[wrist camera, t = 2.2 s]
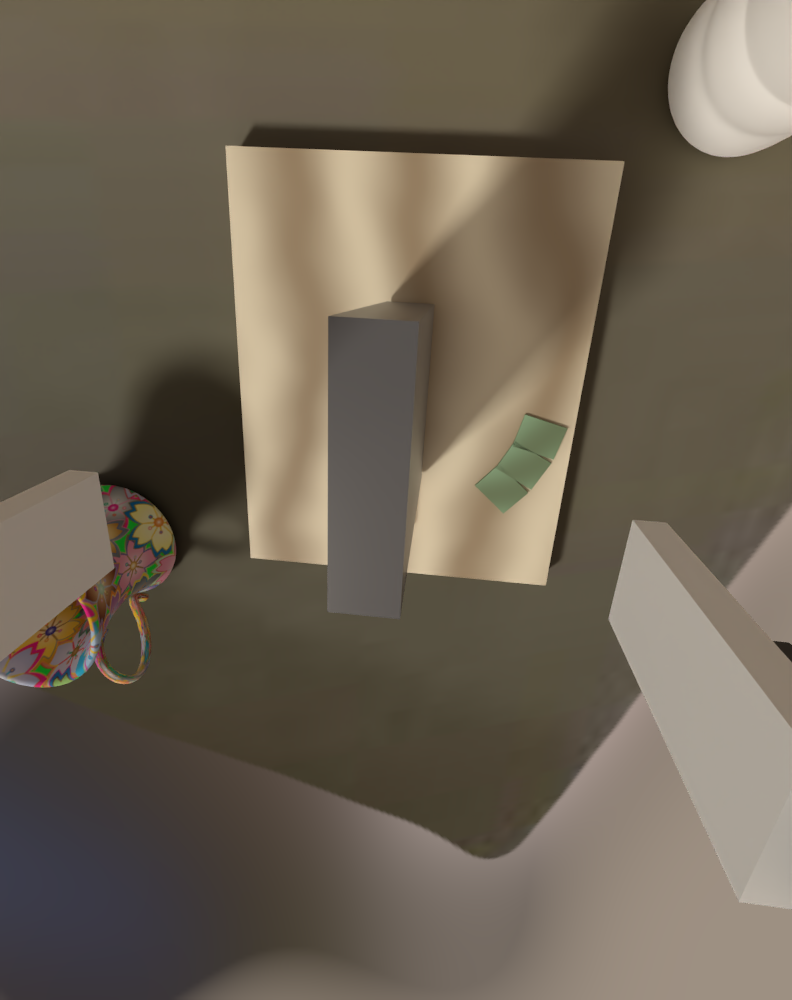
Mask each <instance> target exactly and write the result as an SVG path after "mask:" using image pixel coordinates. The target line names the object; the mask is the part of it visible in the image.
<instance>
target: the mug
mask: <svg viewBox="0 0 792 1000" xmlns="http://www.w3.org/2000/svg"><path fill="white" fill-rule="evenodd" d="M100 487H101V493H102V499H103V505H104V510H105V516H106V522H107V528H108V534H109V539H110V545H111V551H112V557H113V563H114V569H113V570H112V571H110V572H109V573H108V574H107V575H105V576H104V577H103V578H102V579H101V580H99V581H98V582H97V583H96V584H95V585H93V586H92V587H91V588H90V589H88V590H87V591H86V592H85V593H84V594H82V595H81V596H80V597H79V598H77V599H76V600H75V601H74V602H73V603H71V604H70V605H69V606H68V607H66V608H65V609H64V610H63V611H62V612H60V613H59V614H58V615H57V616H56V617H54V618H53V619H52V620H51V621H49V622H48V623H47V624H46V625H45V626H43V627H42V628H41V629H40V630H38V631H37V632H36V633H35V634H34V635H32V636H31V637H30V638H29V639H27V640H26V641H25V642H24V643H23V644H21V645H20V646H19V647H18V648H17V649H15V650H14V651H13V652H12V653H10V654H9V655H8V656H7V657H6V658H4V659H3V660H2V661H1V662H0V678H2V679H4V680H7V681H10V682H13V683H17V684H20V685H25V686H32V687H54V686H59V685H63V684H66V683H69V682H71V681H73V680H75V679H77V678H79V677H80V676H82V675H83V674H84V673H85V672H86V671H87V670H88V669H89V668H90V667H91V665H92V664H93V662H94V661H95V662H96V664H97V667H98V668H99V670H100V671H101V673H102V674H103V675H104V676H105V677H107V678H108V679H109V680H111V681H113V682H116V683H119V684H129V683H132V682H134V681H136V680H138V679H139V678H140V677H141V676H142V675H143V674H144V673H145V671H146V670H147V668H148V665H149V662H150V657H151V636H150V630H149V625H148V622H147V619H146V616H145V613H144V611H143V609H142V607H141V605H140V602H144V601H146V600H147V599H148V594H145V593H139V592H144V591H147V590H150V589H152V588H154V587H156V586H158V585H159V584H161V583H162V582H163V581H164V580H165V579H166V578H167V577H168V575H169V574H170V572H171V570H172V568H173V566H174V563H175V559H176V543H175V538H174V535H173V532H172V530H171V527H170V525H169V524H168V522H167V520H166V519H165V517H164V516H163V514H162V513H161V512H160V511H159V510H158V509H157V508H156V507H155V506H154V505H153V504H152V503H151V502H150V501H148V500H147V499H146V498H144V497H143V496H141V495H139V494H137V493H136V492H133V491H131V490H129V489H126V488H123V487H119V486H114V485H100ZM136 593H138V594H136ZM134 594H135V595H134ZM132 595H133V596H132ZM129 597H130V599H129V605H130V607H131V610H132V612H133V614H134V616H135V619H136V621H137V624H138V628H139V631H140V636H141V645H142V654H141V661H140V665H139V668H138V670H137V672H136V673H135V674H134V675H124V674H121V673H119V672H118V671H116V670H115V669H114V668H113V667H112V666H111V665H110V664H109V662H108V660H107V658H106V656H105V653H104V639H105V636H106V634H107V632H108V629H106V626H107V624H108V622H109V621H110V619H111V617H112V616H113V614H114V613H115V611H116V610H117V609H118V608H119V606H120V605H121V604H122V603H123V602H124V601H126V600H127V599H128V598H129ZM139 601H140V602H139Z"/></svg>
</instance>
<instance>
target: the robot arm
mask: <svg viewBox="0 0 792 1000" xmlns="http://www.w3.org/2000/svg"><path fill="white" fill-rule="evenodd" d="M113 569H114V563H113V557H112V551H111V545H110V539H109V534H108V528H107V522H106V516H105V510H104V505H103V499H102V493H101V487H100V482H99V476H98V473H97V472H86V471H75V470H68V471H66V472H64V473H62V474H60V475H58V476H56V477H53V478H51V479H49V480H47V481H45V482H43V483H41V484H39V485H36V486H34V487H32V488H30V489H28V490H26V491H24V492H22V493H19V494H17V495H15V496H13V497H11V498H9V499H7V500H5V501H2V502H0V662H1V661H2V660H3V659H4V658H6V657H7V656H8V655H9V654H10V653H12V652H13V651H14V650H15V649H17V648H18V647H19V646H20V645H21V644H23V643H24V642H25V641H26V640H27V639H29V638H30V637H31V636H32V635H34V634H35V633H36V632H37V631H38V630H40V629H41V628H42V627H43V626H45V625H46V624H47V623H48V622H49V621H51V620H52V619H53V618H54V617H56V616H57V615H58V614H59V613H60V612H62V611H63V610H64V609H65V608H66V607H68V606H69V605H70V604H71V603H73V602H74V601H75V600H76V599H77V598H79V597H80V596H81V595H82V594H84V593H85V592H86V591H87V590H88V589H90V588H91V587H92V586H93V585H95V584H96V583H97V582H98V581H99V580H101V579H102V578H103V577H104V576H105V575H107V574H108V573H109V572H110V571H112V570H113ZM609 621H610V623H611V626H612V628H613V630H614V632H615V634H616V636H617V639H618V641H619V643H620V645H621V647H622V650H623V652H624V654H625V656H626V658H627V660H628V663H629V665H630V667H631V669H632V671H633V673H634V676H635V678H636V680H637V682H638V684H639V686H640V689H641V691H642V693H643V695H644V697H645V700H646V702H647V704H648V706H649V708H650V710H651V712H652V715H653V717H654V719H655V721H656V723H657V726H658V728H659V730H660V732H661V734H662V736H663V738H664V741H665V743H666V745H667V747H668V749H669V752H670V754H671V756H672V758H673V760H674V762H675V765H676V767H677V769H678V771H679V773H680V776H681V778H682V780H683V782H684V784H685V786H686V789H687V791H688V793H689V795H690V797H691V799H692V802H693V804H694V806H695V808H696V810H697V812H698V815H699V817H700V819H701V821H702V823H703V825H704V828H705V830H706V832H707V834H708V836H709V838H710V841H711V843H712V845H713V847H714V850H715V852H716V854H717V856H718V858H719V860H720V862H721V865H722V867H723V869H724V871H725V873H726V876H727V878H728V879H729V882H730V884H731V886H732V889H733V891H734V892H735V895H736V897H737V899H738V902H743V903H750V904H758V905H764V906H772V907H779V908H786V909H792V645H791V644H790V643H786V642H777V641H772V640H771V639H770V638H769V636H768V635H767V634H766V633H765V632H764V631H763V630H762V629H761V627H760V626H759V625H758V624H757V623H756V622H755V621H754V620H753V619H752V617H751V616H750V615H749V614H748V613H747V612H746V611H745V610H744V608H743V607H742V606H741V605H740V604H739V603H738V602H737V601H736V600H735V599H734V597H733V596H732V595H731V594H730V593H729V592H728V591H727V589H726V588H725V587H724V586H723V585H722V584H721V583H720V582H719V581H718V579H717V578H716V577H715V576H714V575H713V574H712V573H711V572H710V571H709V569H708V568H707V567H706V566H705V565H704V564H703V563H702V562H701V560H700V559H699V558H698V557H697V556H696V555H695V554H694V553H693V552H692V550H691V549H690V548H689V547H688V546H687V545H686V544H685V543H684V541H683V540H682V539H681V538H680V537H679V536H678V535H677V534H676V533H675V531H674V530H673V529H672V528H671V527H670V526H669V525H668V524H667V523H664V522H652V521H641V520H633V521H632V525H631V529H630V533H629V537H628V541H627V545H626V549H625V553H624V557H623V562H622V566H621V570H620V574H619V578H618V582H617V586H616V590H615V594H614V598H613V602H612V606H611V611H610V615H609Z"/></svg>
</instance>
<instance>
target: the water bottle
mask: <svg viewBox="0 0 792 1000" xmlns="http://www.w3.org/2000/svg"><path fill="white" fill-rule="evenodd" d="M668 100H669V106H670V111H671V114H672V117H673V120H674V122H675V125H676V127H677V128H678V130H679V131H680V133H681V135H682V136H683V137H684V138H685V139H686V140H687V141H688V142H689V143H690V144H691V145H692V146H694V147H695V148H697V149H698V150H700V151H702V152H705V153H707V154H710V155H714V156H720V157H738V156H743V155H748V154H751V153H755V152H758V151H760V150H763V149H765V148H767V147H770V146H772V145H774V144H776V143H778V142H780V141H782V140H784V139H786V138H788V137H790V136H791V135H792V0H706V1H705V2H704V3H703V4H702V5H701V6H700V8H699V9H698V10H697V12H696V13H695V14H694V16H693V17H692V18H691V20H690V21H689V23H688V25H687V26H686V28H685V30H684V31H683V33H682V35H681V37H680V40H679V42H678V44H677V46H676V49H675V52H674V55H673V58H672V62H671V66H670V71H669V78H668Z"/></svg>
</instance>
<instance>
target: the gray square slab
mask: <svg viewBox="0 0 792 1000" xmlns="http://www.w3.org/2000/svg"><path fill="white" fill-rule="evenodd" d="M433 318H434V304H424V303H407V302H390V301H386V302H382V303H378V304H374V305H370V306H366V307H362V308H358V309H354V310H350V311H346V312H342V313H338V314H334V315H330V316H328V600H327V612H334V613H344V614H354V615H364V616H374V617H384V618H394V619H400V615H401V609H402V602H403V595H404V589H405V582H406V576H407V569H408V563H409V556H410V550H411V543H412V536H413V530H414V523H415V517H416V510H417V504H418V497H419V491H420V484H421V477H422V465H423V451H424V438H425V425H426V411H427V398H428V384H429V371H430V358H431V344H432V331H433Z"/></svg>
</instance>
